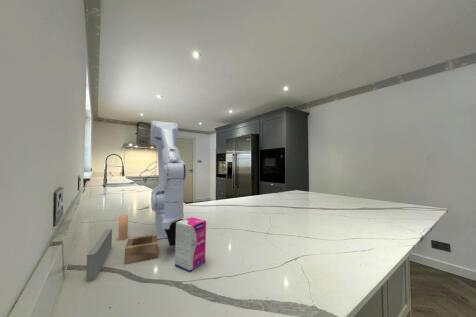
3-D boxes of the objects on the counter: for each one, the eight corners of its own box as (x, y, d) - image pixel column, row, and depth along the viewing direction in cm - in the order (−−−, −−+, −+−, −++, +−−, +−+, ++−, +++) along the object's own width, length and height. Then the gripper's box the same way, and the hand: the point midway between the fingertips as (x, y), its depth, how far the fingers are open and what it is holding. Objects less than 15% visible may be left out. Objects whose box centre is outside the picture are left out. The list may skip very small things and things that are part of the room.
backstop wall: (111, 247, 59) (111, 228, 60) (95, 280, 43) (95, 253, 43) (105, 248, 59) (105, 229, 59) (86, 281, 42) (87, 254, 43)
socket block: (157, 246, 60) (157, 233, 60) (157, 257, 53) (157, 243, 53) (128, 251, 57) (128, 237, 57) (124, 264, 50) (124, 248, 50)
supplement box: (190, 273, 46) (190, 225, 46) (174, 266, 49) (174, 221, 49) (206, 262, 51) (206, 219, 51) (190, 256, 54) (191, 216, 54)
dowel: (128, 236, 69) (128, 214, 69) (127, 239, 66) (127, 216, 66) (119, 237, 67) (119, 215, 68) (117, 240, 65) (118, 217, 65)
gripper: (169, 196, 66) (168, 235, 66) (150, 206, 52) (149, 256, 51) (189, 196, 66) (189, 235, 66) (176, 206, 52) (175, 256, 51)
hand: (173, 244), depth 59 cm, fingers closed
